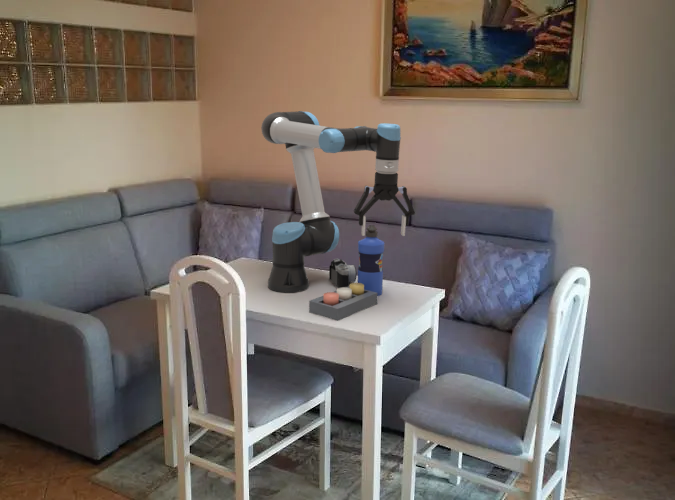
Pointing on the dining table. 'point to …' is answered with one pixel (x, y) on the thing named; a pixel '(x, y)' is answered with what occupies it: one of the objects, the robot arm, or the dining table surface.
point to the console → (343, 305)
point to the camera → (341, 273)
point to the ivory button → (344, 293)
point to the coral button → (331, 298)
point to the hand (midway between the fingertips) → (383, 235)
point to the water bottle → (371, 261)
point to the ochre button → (357, 288)
